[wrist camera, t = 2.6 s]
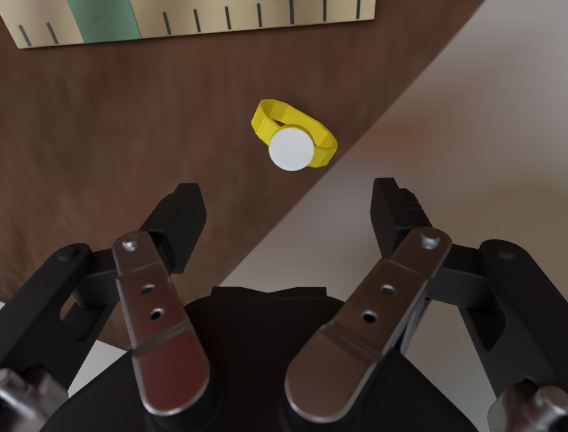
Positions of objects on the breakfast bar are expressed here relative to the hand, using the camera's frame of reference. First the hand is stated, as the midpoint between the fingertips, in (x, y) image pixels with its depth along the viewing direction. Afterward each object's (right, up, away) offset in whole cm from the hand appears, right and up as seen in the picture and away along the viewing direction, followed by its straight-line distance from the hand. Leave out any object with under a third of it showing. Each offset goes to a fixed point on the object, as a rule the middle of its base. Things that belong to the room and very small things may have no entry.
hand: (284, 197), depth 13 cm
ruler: (-7, +12, +5) cm, 15 cm away
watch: (+1, +7, +9) cm, 11 cm away
